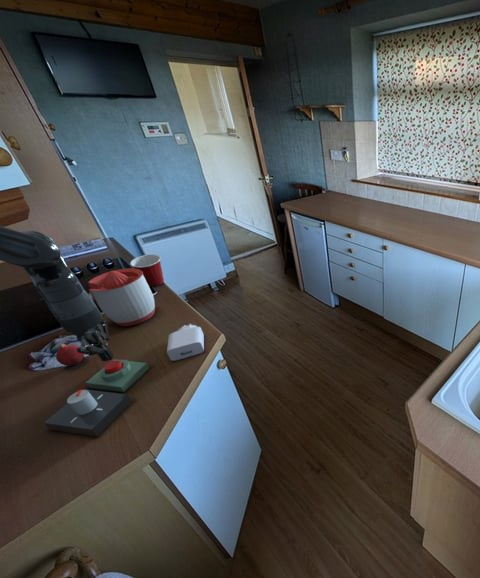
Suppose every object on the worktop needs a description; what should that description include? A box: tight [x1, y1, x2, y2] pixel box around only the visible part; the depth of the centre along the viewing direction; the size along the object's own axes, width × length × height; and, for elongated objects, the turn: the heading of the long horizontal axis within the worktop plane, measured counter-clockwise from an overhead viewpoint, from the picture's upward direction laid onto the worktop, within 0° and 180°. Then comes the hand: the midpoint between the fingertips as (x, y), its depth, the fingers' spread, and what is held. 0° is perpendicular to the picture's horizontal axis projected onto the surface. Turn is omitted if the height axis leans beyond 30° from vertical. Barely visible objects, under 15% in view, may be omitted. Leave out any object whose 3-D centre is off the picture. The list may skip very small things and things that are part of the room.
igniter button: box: [103, 359, 123, 374], centre depth 84 cm, size 4×4×2 cm
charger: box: [166, 323, 205, 362], centre depth 98 cm, size 5×9×15 cm
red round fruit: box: [55, 343, 85, 366], centre depth 88 cm, size 6×6×8 cm
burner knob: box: [66, 388, 98, 415], centre depth 73 cm, size 4×4×5 cm
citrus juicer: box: [87, 267, 156, 327], centre depth 105 cm, size 16×17×20 cm
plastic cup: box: [129, 253, 165, 287], centre depth 128 cm, size 11×11×12 cm
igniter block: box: [85, 358, 150, 393], centre depth 85 cm, size 11×9×4 cm
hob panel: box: [43, 389, 133, 438], centre depth 75 cm, size 13×10×3 cm
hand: (108, 358), depth 83 cm, fingers closed
